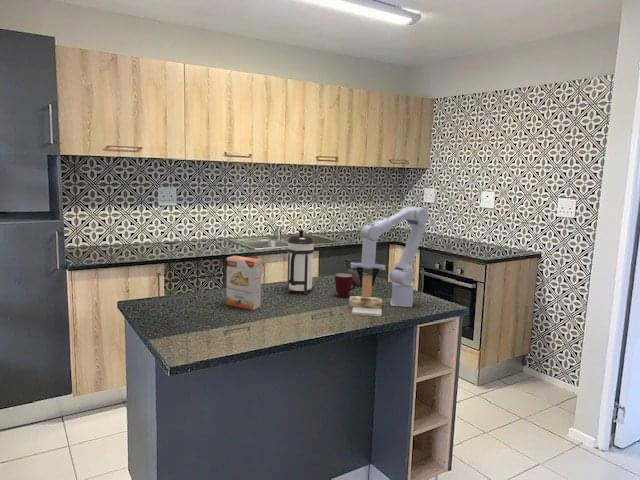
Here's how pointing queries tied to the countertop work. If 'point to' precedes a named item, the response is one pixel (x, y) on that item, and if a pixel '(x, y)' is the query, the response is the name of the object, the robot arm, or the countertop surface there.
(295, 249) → the coffee press
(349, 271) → the perforated stone tool
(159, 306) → the countertop surface
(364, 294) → the plug
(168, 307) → the countertop surface
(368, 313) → the mat
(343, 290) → the mug
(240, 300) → the cracker box
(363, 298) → the beige holed block
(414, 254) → the robot arm
